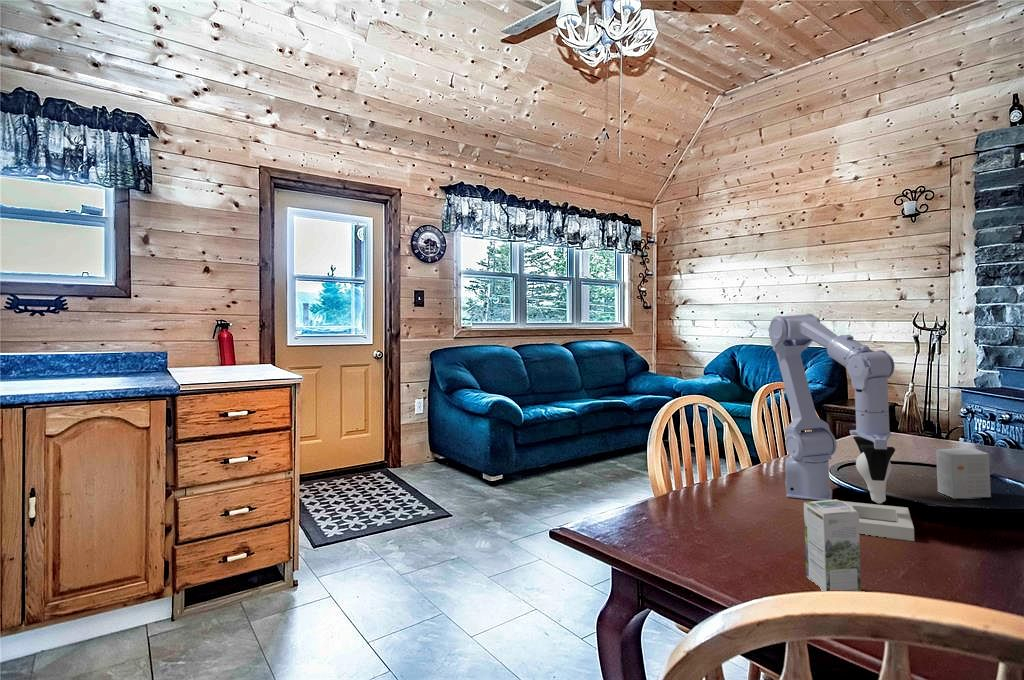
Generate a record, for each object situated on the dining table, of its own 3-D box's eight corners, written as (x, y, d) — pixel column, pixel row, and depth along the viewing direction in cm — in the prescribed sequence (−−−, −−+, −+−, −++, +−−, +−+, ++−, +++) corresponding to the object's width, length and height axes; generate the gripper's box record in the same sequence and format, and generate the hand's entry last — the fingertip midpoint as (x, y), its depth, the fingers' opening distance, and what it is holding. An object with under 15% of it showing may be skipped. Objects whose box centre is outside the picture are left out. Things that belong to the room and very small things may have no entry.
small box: (973, 491, 129) (971, 447, 128) (991, 499, 123) (990, 453, 123) (936, 492, 130) (935, 448, 129) (953, 500, 124) (951, 454, 124)
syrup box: (839, 582, 92) (835, 497, 91) (863, 600, 86) (859, 509, 86) (805, 585, 92) (801, 500, 91) (827, 604, 86) (823, 512, 85)
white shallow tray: (841, 532, 112) (840, 520, 111) (841, 512, 122) (841, 501, 122) (914, 541, 105) (913, 528, 105) (908, 519, 116) (907, 507, 115)
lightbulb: (886, 510, 109) (878, 456, 109) (855, 504, 115) (847, 452, 115) (903, 501, 112) (895, 448, 112) (872, 496, 118) (864, 445, 117)
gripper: (843, 404, 121) (845, 464, 122) (855, 416, 108) (858, 485, 108) (881, 404, 118) (883, 466, 119) (898, 417, 105) (901, 487, 106)
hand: (874, 475), depth 113 cm, fingers closed on lightbulb, 6 cm apart
